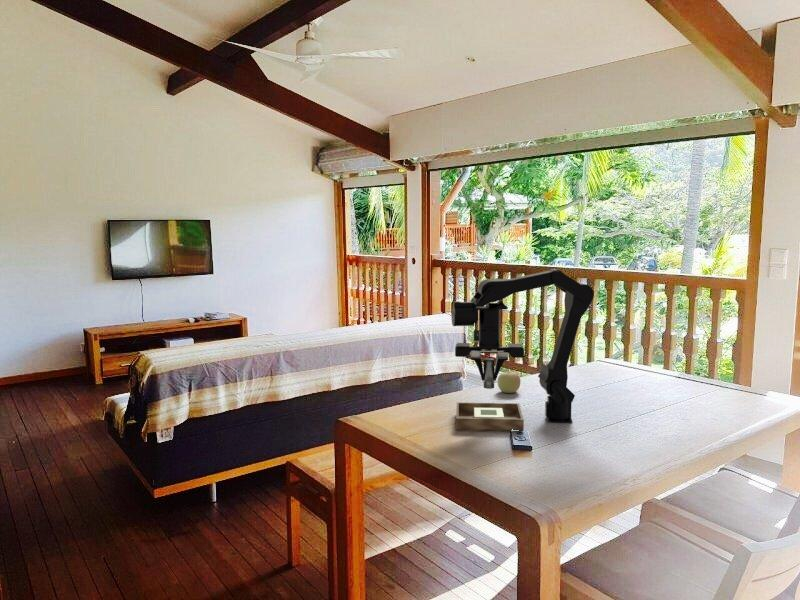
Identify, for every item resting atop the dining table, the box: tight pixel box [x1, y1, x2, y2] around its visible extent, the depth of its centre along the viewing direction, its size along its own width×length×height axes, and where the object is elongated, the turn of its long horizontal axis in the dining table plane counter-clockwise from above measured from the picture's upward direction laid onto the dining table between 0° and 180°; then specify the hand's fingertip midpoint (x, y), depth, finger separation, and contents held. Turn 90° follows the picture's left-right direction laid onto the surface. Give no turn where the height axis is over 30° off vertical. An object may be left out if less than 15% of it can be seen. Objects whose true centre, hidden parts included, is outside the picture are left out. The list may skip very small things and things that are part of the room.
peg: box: [483, 357, 496, 390], centre depth 166 cm, size 3×3×8 cm
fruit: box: [497, 368, 521, 394], centre depth 196 cm, size 8×7×8 cm
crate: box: [455, 401, 525, 433], centre depth 167 cm, size 18×14×4 cm
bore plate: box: [474, 408, 504, 418], centre depth 167 cm, size 8×8×2 cm
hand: (488, 380), depth 167 cm, fingers closed on peg, 3 cm apart
